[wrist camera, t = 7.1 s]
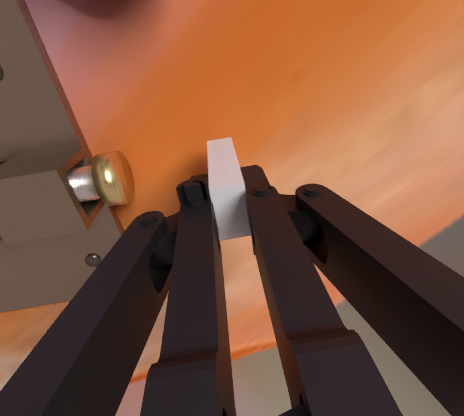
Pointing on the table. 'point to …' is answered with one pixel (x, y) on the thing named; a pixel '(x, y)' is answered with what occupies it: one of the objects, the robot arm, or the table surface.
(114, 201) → the pin
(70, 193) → the hinge
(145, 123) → the table surface
